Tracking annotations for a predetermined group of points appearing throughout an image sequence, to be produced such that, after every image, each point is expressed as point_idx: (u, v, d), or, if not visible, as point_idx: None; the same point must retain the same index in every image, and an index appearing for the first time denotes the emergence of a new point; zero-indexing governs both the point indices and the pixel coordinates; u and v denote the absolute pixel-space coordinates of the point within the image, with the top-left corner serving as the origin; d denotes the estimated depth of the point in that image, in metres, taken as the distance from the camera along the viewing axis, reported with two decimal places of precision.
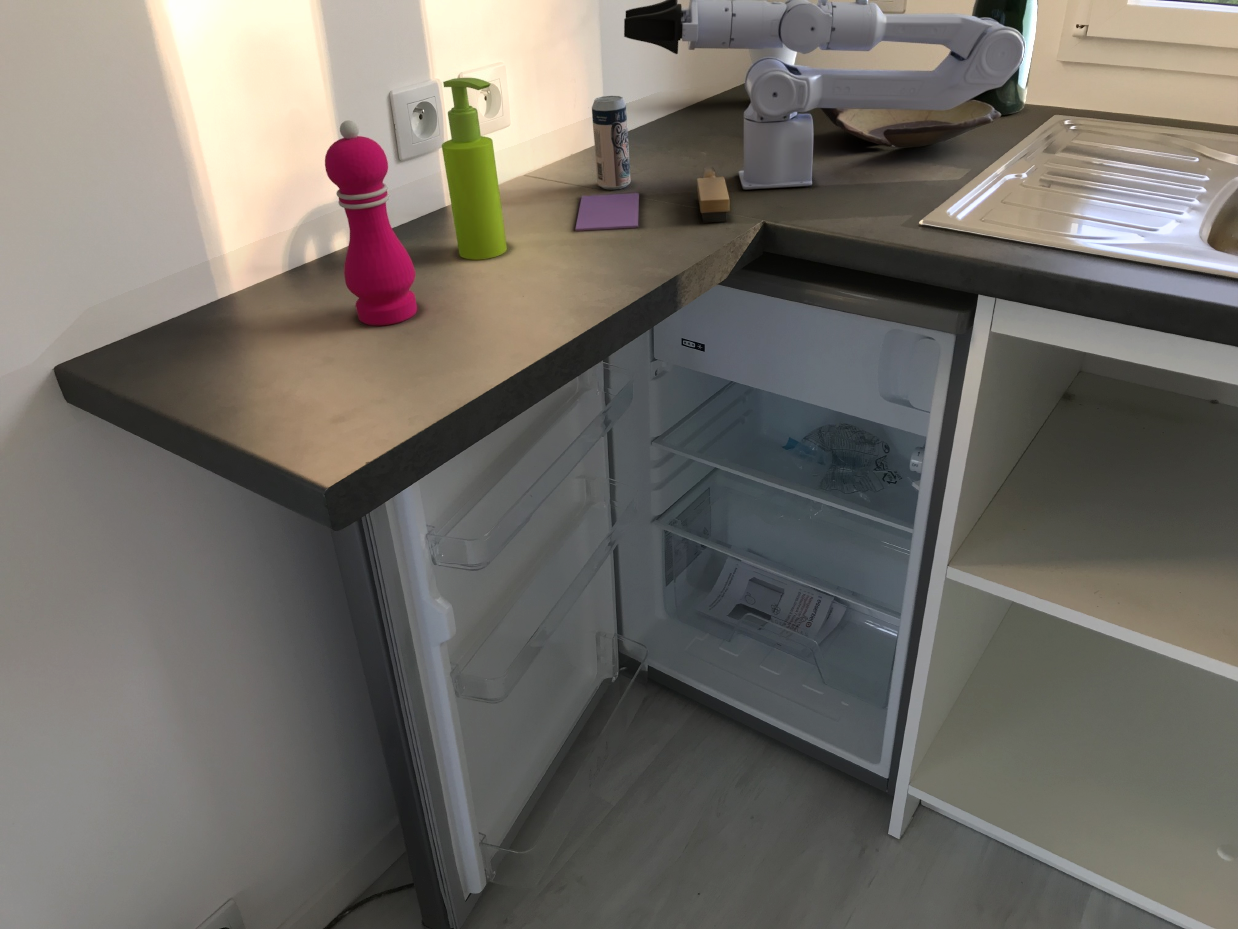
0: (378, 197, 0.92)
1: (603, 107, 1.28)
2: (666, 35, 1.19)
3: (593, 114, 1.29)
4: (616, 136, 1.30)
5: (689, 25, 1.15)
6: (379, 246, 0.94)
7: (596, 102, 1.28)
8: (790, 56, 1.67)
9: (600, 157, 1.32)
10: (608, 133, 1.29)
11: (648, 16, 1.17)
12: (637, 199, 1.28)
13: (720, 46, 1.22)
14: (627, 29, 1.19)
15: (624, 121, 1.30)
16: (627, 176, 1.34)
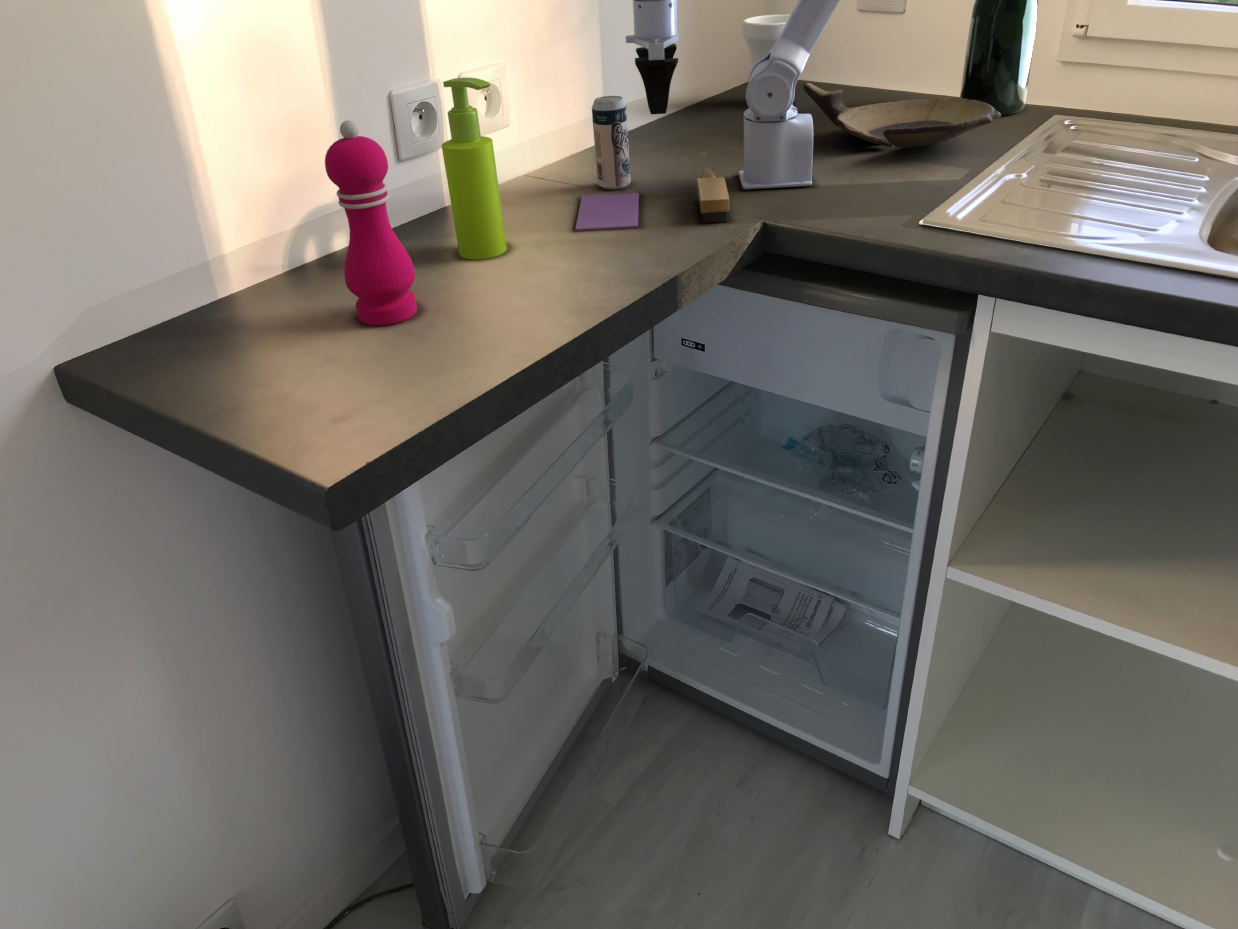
0: (378, 197, 0.92)
1: (603, 107, 1.28)
2: (662, 70, 1.23)
3: (593, 114, 1.29)
4: (616, 136, 1.30)
5: (650, 53, 1.19)
6: (379, 246, 0.94)
7: (596, 102, 1.28)
8: None
9: (600, 157, 1.32)
10: (608, 133, 1.29)
11: (646, 91, 1.24)
12: (637, 199, 1.28)
13: (673, 7, 1.21)
14: (659, 110, 1.26)
15: (624, 121, 1.30)
16: (627, 176, 1.34)
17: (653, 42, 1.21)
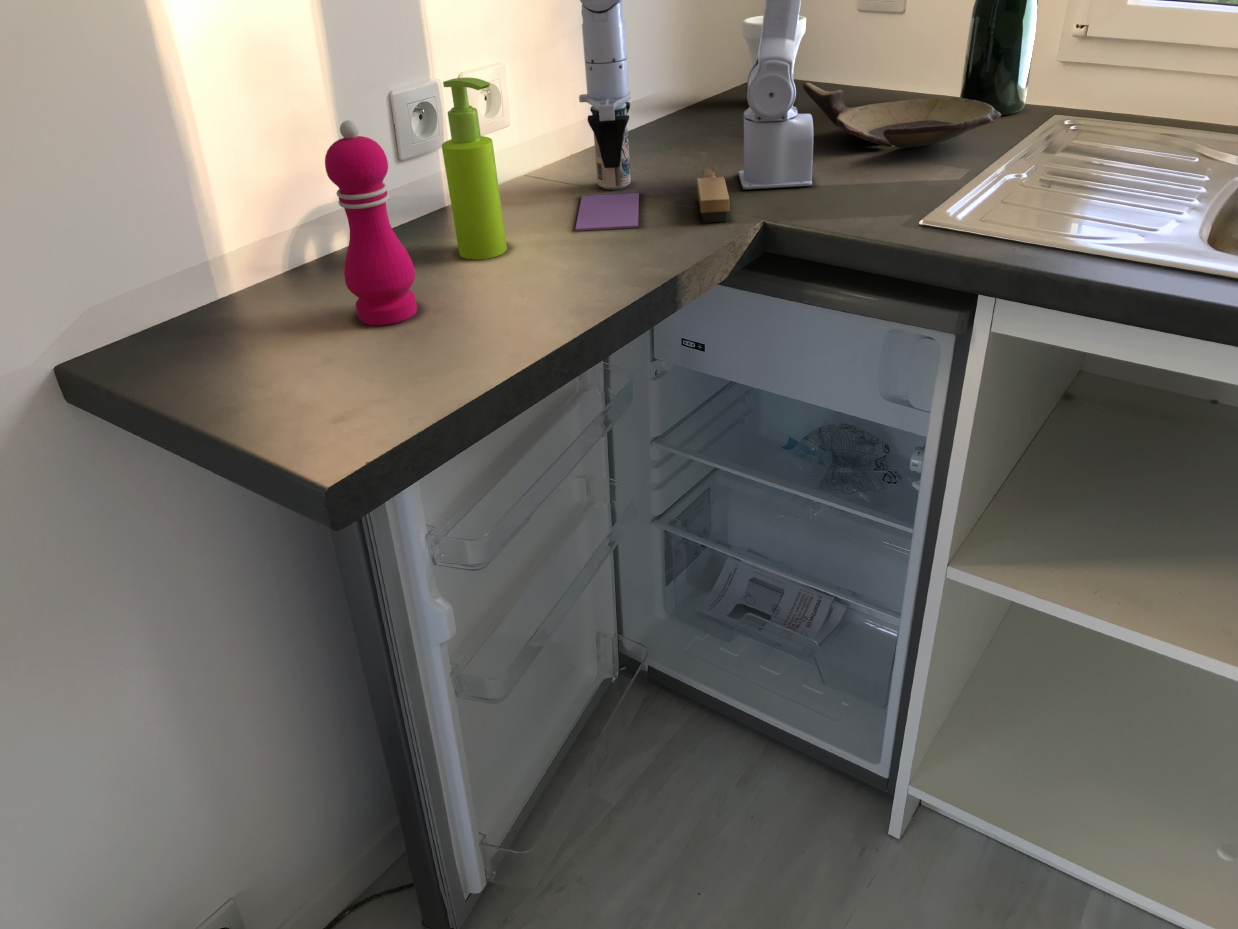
0: (378, 197, 0.92)
1: None
2: (615, 127, 1.28)
3: (593, 114, 1.29)
4: None
5: (600, 114, 1.23)
6: (379, 246, 0.94)
7: None
8: None
9: (600, 157, 1.32)
10: None
11: (600, 147, 1.29)
12: (637, 199, 1.28)
13: (623, 69, 1.26)
14: (612, 164, 1.31)
15: None
16: (627, 176, 1.34)
17: (604, 103, 1.25)
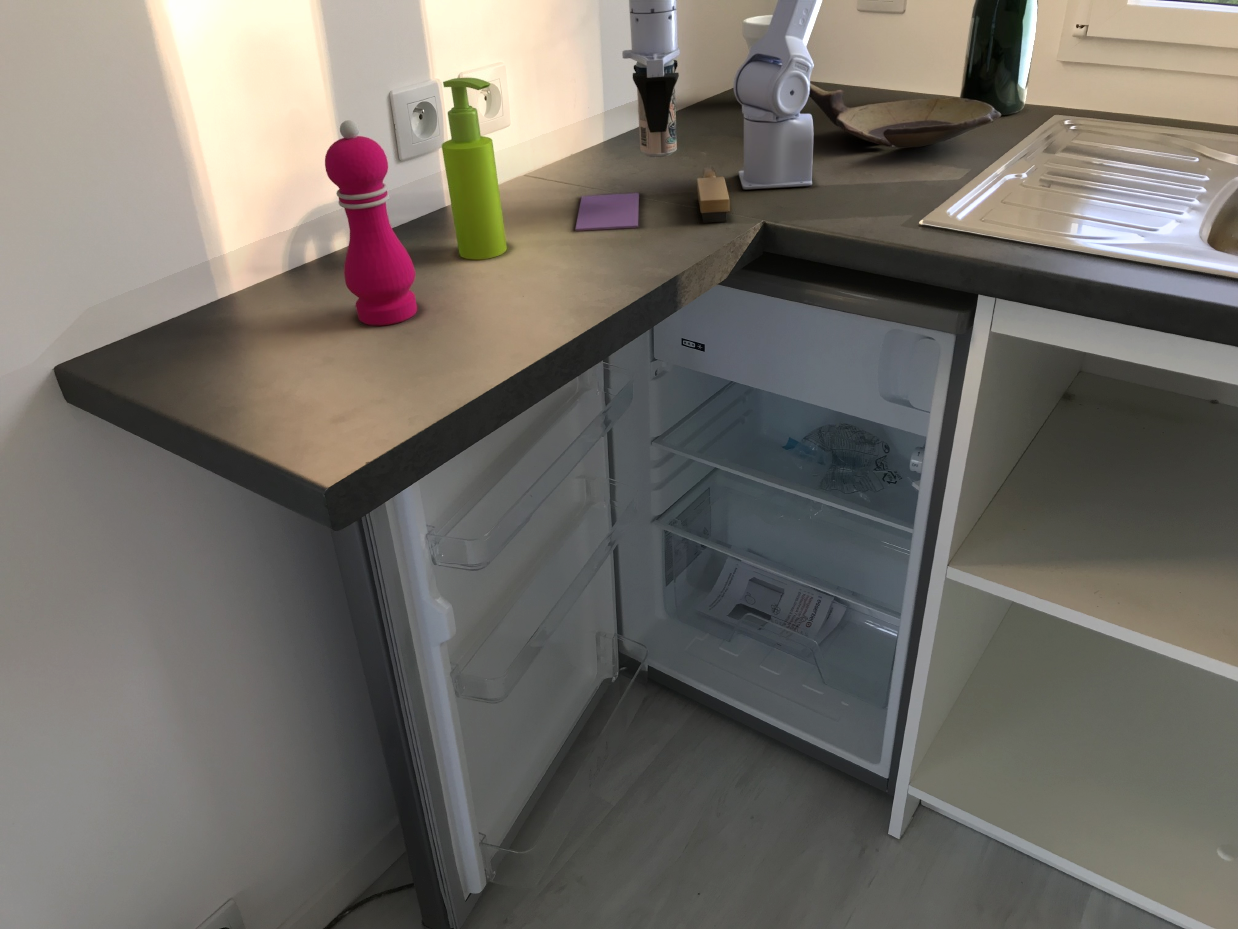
0: (378, 197, 0.92)
1: None
2: (662, 86, 1.15)
3: (637, 72, 1.17)
4: None
5: (648, 69, 1.10)
6: (378, 246, 0.94)
7: None
8: None
9: (644, 120, 1.19)
10: None
11: (645, 108, 1.16)
12: (637, 199, 1.28)
13: (673, 20, 1.13)
14: (659, 128, 1.18)
15: None
16: (674, 142, 1.21)
17: (652, 58, 1.12)
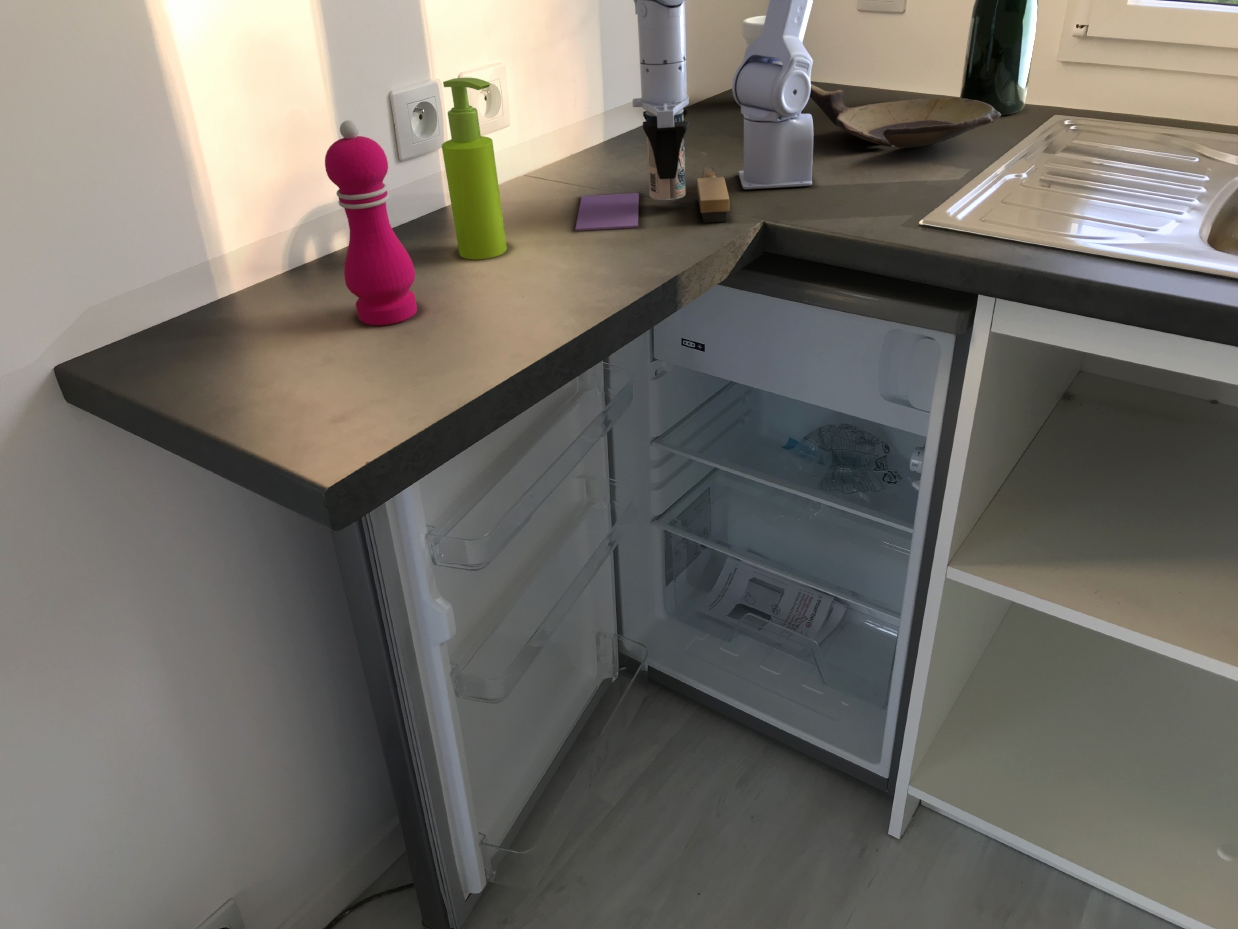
0: (378, 197, 0.92)
1: None
2: (672, 134, 1.17)
3: (647, 120, 1.18)
4: None
5: (659, 120, 1.12)
6: (378, 246, 0.94)
7: None
8: None
9: (654, 167, 1.20)
10: None
11: (655, 156, 1.18)
12: (637, 199, 1.28)
13: (683, 70, 1.14)
14: (668, 175, 1.20)
15: None
16: (683, 188, 1.22)
17: (662, 108, 1.14)
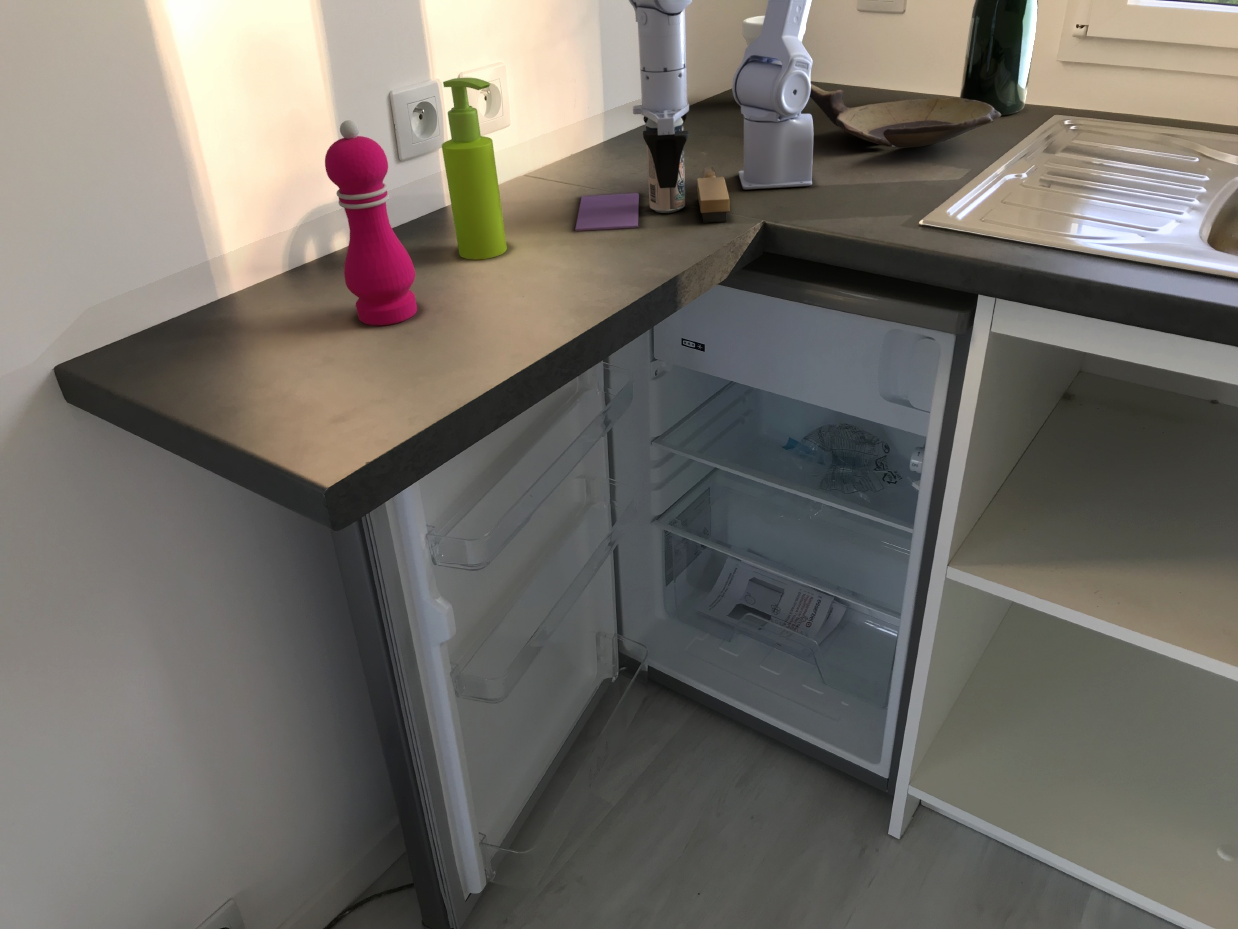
0: (378, 197, 0.92)
1: None
2: (672, 144, 1.16)
3: None
4: None
5: (659, 127, 1.12)
6: (379, 246, 0.94)
7: None
8: None
9: (654, 178, 1.21)
10: None
11: (655, 165, 1.17)
12: (637, 199, 1.28)
13: (683, 78, 1.15)
14: (669, 184, 1.19)
15: None
16: (682, 198, 1.23)
17: (662, 115, 1.14)
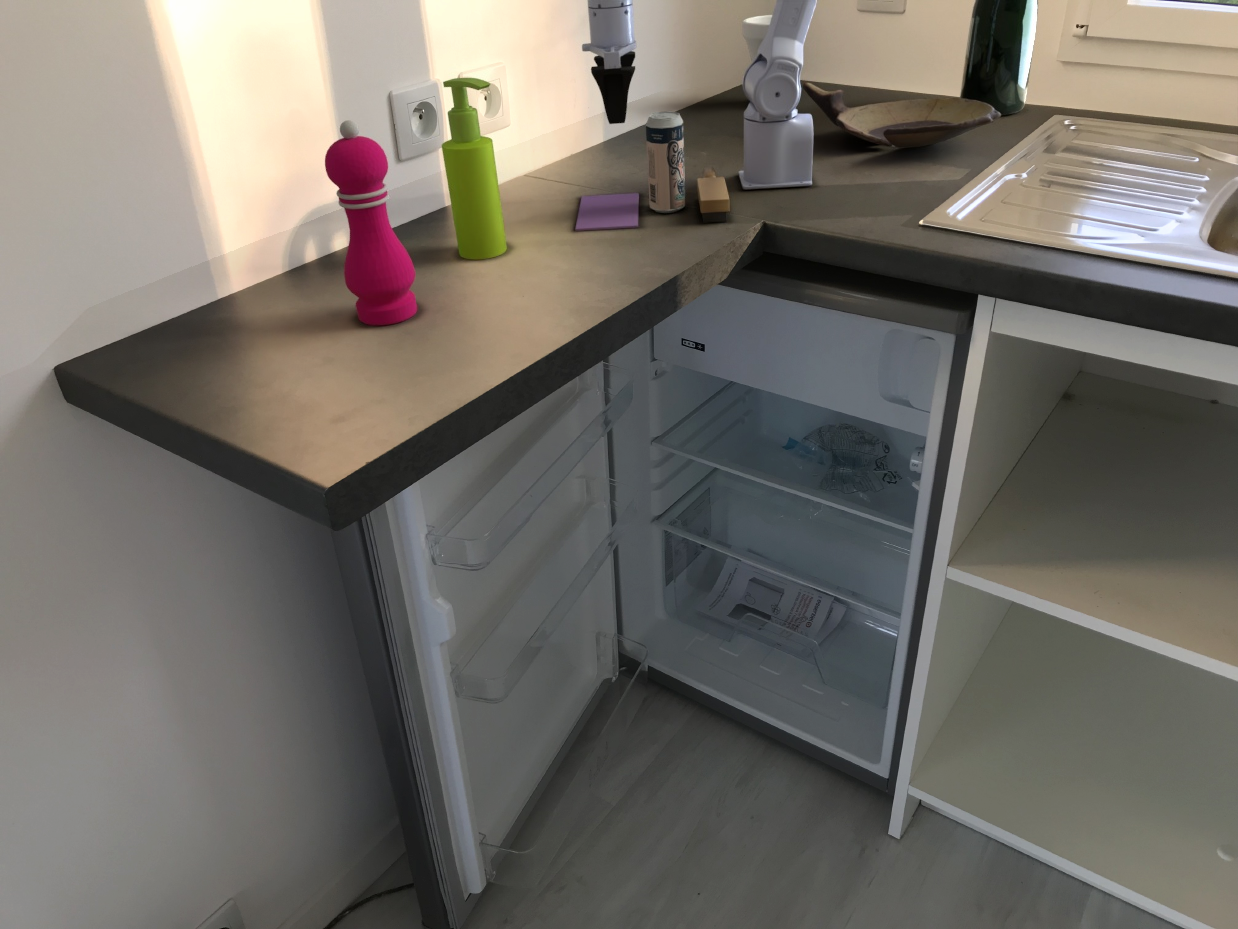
0: (378, 197, 0.92)
1: (659, 124, 1.17)
2: (620, 79, 1.20)
3: (647, 132, 1.19)
4: (672, 156, 1.19)
5: (605, 61, 1.16)
6: (378, 246, 0.94)
7: (651, 119, 1.18)
8: None
9: (654, 178, 1.21)
10: (664, 152, 1.19)
11: (604, 100, 1.21)
12: (637, 199, 1.28)
13: (629, 15, 1.19)
14: (617, 120, 1.23)
15: (681, 139, 1.19)
16: (682, 198, 1.23)
17: (609, 50, 1.18)
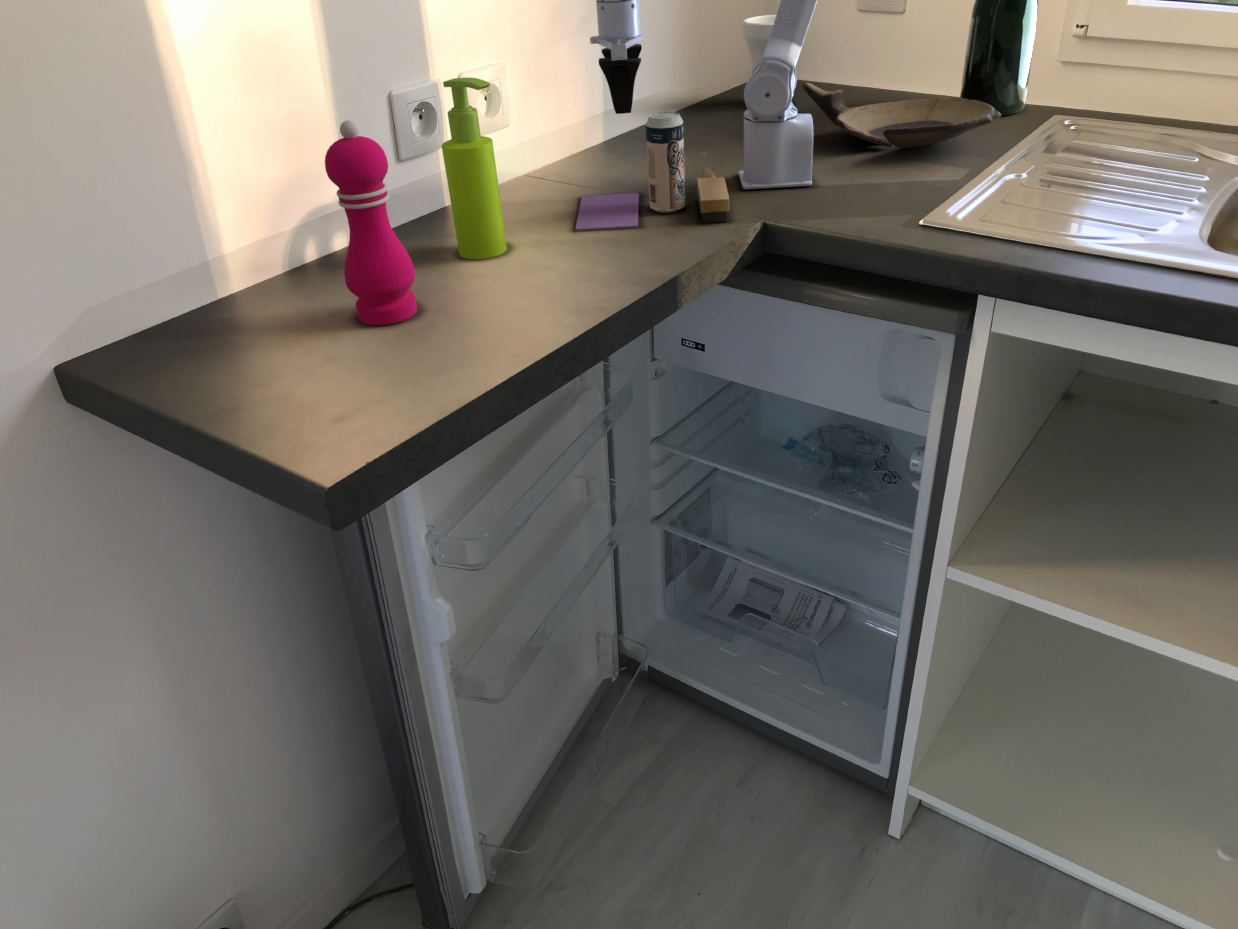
0: (378, 197, 0.92)
1: (659, 124, 1.17)
2: (626, 70, 1.25)
3: (647, 132, 1.19)
4: (672, 155, 1.19)
5: (612, 53, 1.21)
6: (378, 246, 0.94)
7: (651, 119, 1.18)
8: None
9: (654, 178, 1.21)
10: (664, 152, 1.19)
11: (611, 91, 1.26)
12: (637, 199, 1.28)
13: (636, 8, 1.23)
14: (624, 110, 1.28)
15: (681, 139, 1.19)
16: (682, 198, 1.23)
17: (616, 42, 1.23)
